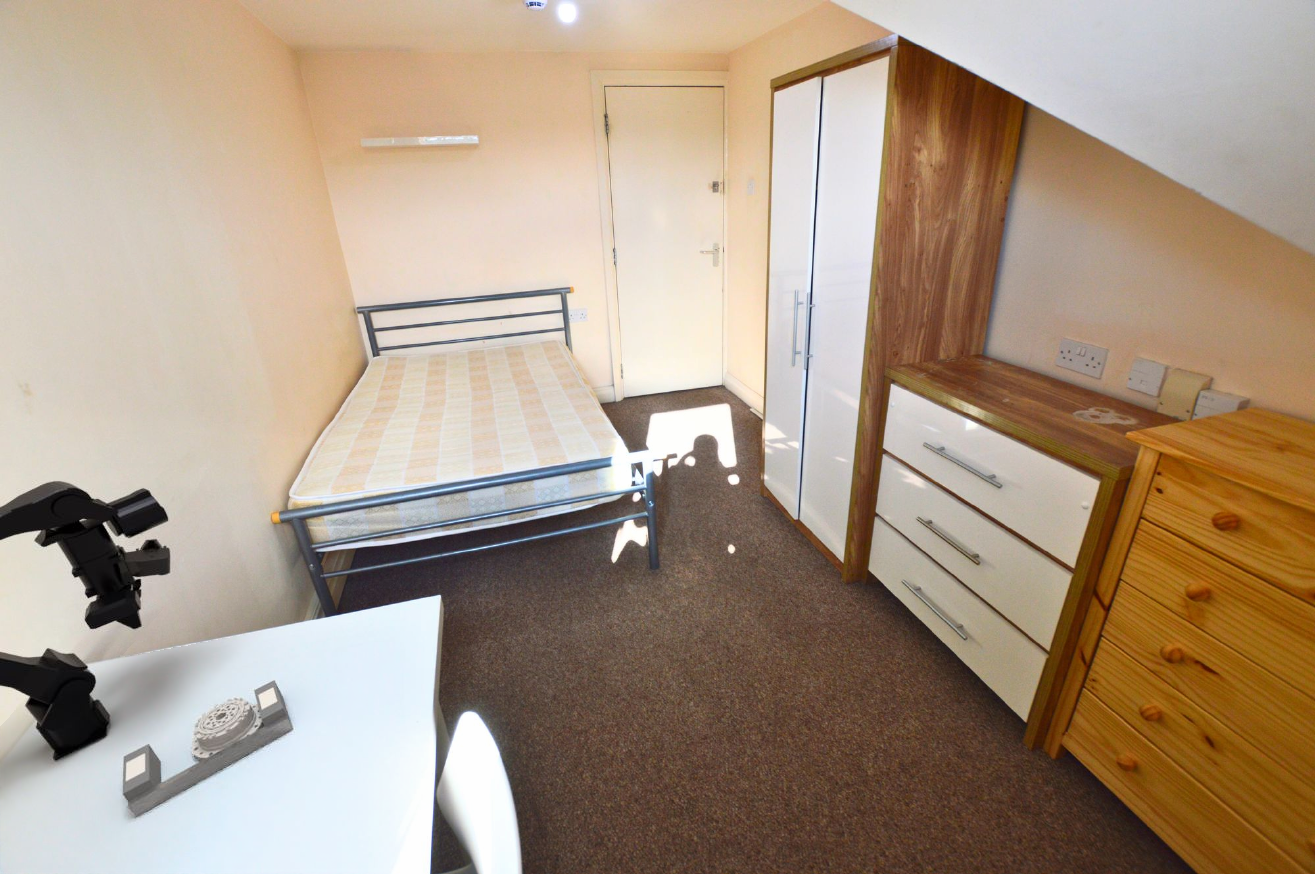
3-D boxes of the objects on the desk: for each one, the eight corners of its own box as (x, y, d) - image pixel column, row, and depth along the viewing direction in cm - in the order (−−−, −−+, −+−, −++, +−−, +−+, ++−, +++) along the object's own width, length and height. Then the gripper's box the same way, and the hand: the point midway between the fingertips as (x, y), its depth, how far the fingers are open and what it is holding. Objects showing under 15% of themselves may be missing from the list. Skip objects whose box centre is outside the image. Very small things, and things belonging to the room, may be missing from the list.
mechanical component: (179, 767, 88) (244, 759, 88) (166, 747, 86) (233, 740, 86) (220, 712, 97) (279, 705, 97) (210, 693, 95) (270, 687, 95)
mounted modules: (135, 811, 82) (121, 793, 80) (136, 773, 87) (123, 755, 86) (291, 725, 93) (282, 707, 91) (282, 696, 99) (273, 678, 97)
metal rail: (135, 817, 81) (127, 805, 80) (135, 811, 82) (127, 800, 81) (292, 729, 92) (287, 718, 91) (291, 725, 93) (286, 714, 92)
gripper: (156, 554, 91) (198, 629, 97) (153, 512, 104) (190, 581, 110) (61, 588, 84) (113, 666, 91) (72, 539, 98) (116, 610, 104)
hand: (138, 626), depth 99 cm, fingers closed
